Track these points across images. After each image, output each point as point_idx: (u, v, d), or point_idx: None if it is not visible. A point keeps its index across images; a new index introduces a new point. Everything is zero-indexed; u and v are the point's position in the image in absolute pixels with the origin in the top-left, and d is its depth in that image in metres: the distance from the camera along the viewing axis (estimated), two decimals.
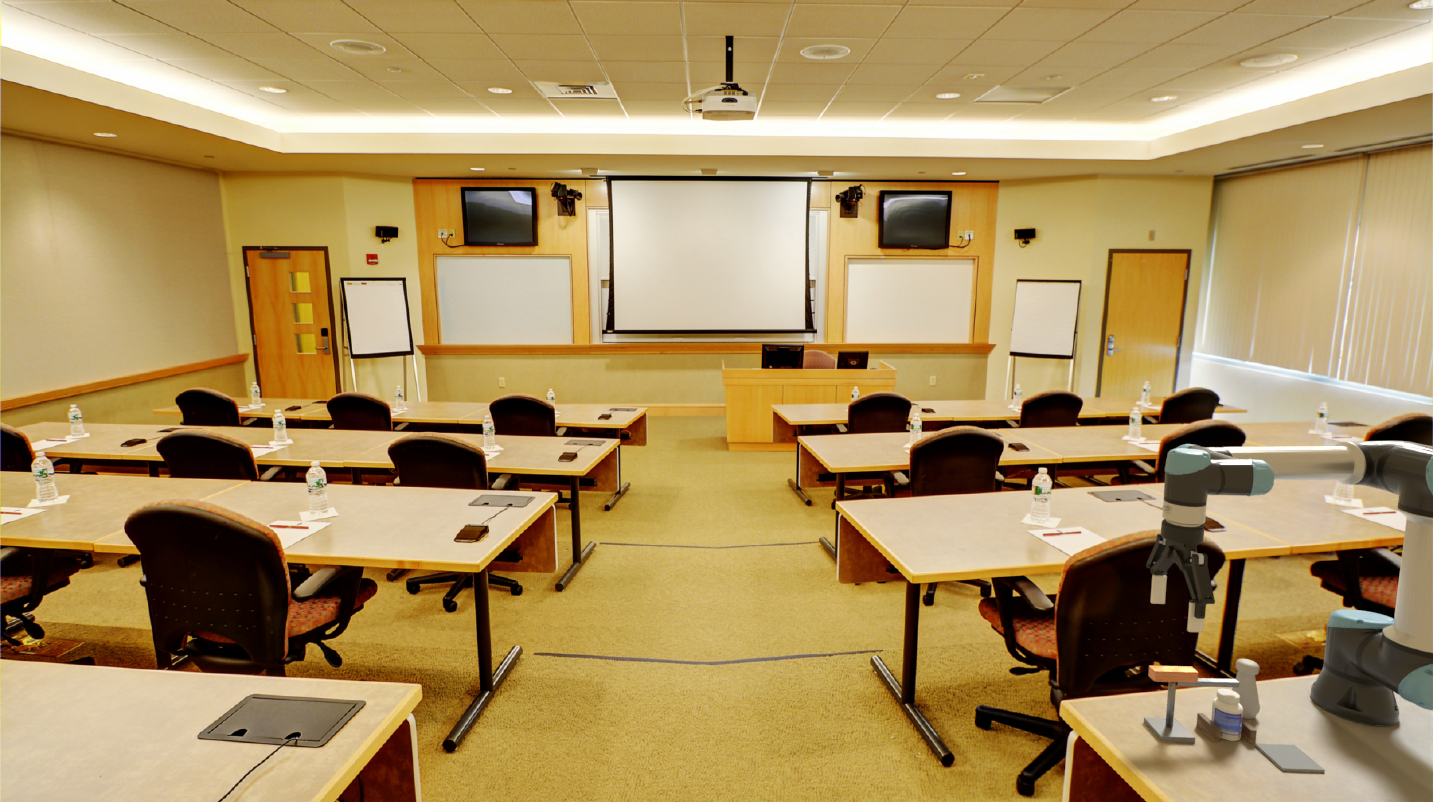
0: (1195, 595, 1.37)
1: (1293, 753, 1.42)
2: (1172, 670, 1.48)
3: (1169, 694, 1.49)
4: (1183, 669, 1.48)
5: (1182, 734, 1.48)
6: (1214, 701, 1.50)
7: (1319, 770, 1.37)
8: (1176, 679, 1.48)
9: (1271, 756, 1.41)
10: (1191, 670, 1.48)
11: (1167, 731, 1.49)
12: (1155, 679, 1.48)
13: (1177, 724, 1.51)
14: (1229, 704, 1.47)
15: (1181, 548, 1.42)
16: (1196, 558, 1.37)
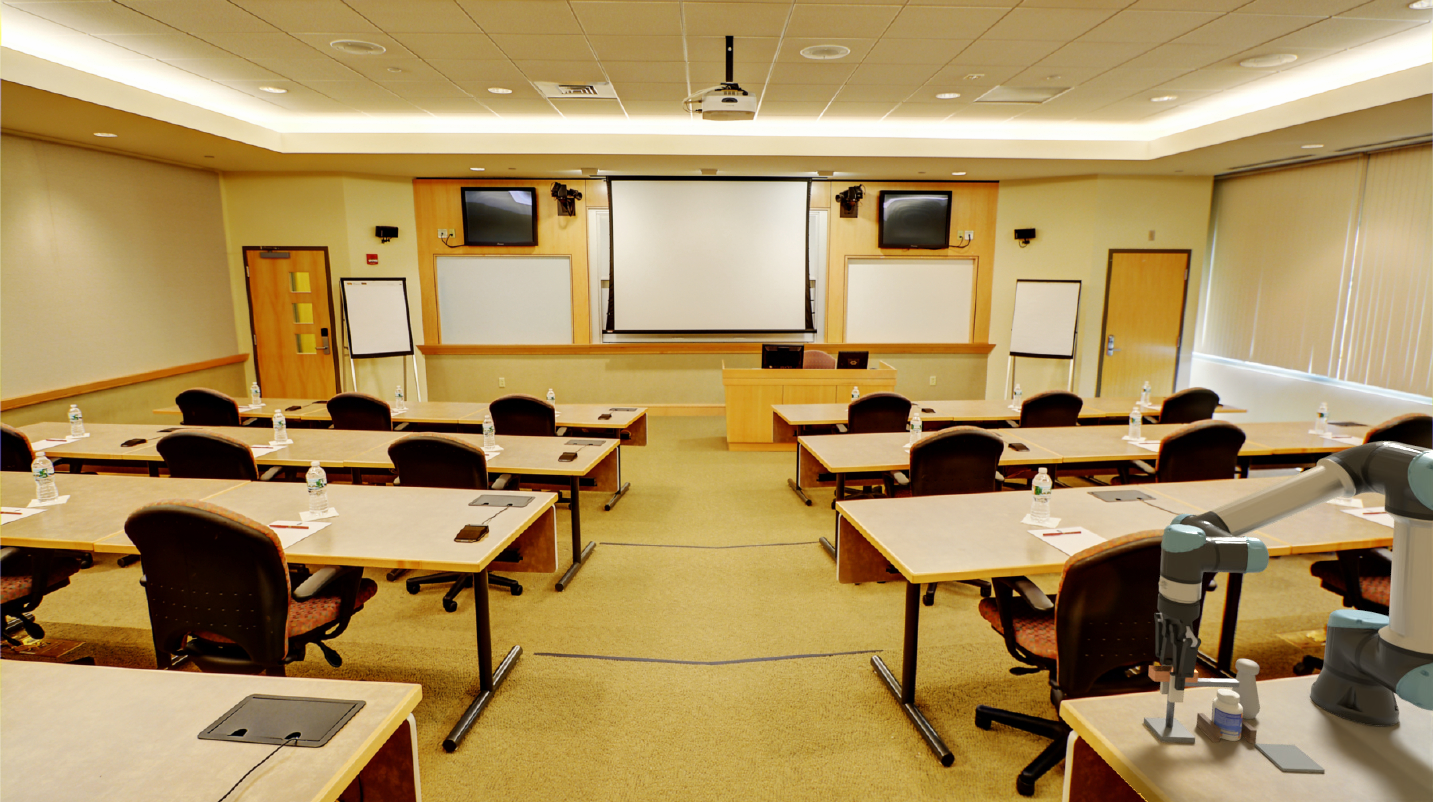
0: (1176, 670, 1.46)
1: (1293, 753, 1.42)
2: (1172, 670, 1.48)
3: None
4: None
5: (1182, 734, 1.48)
6: (1214, 701, 1.50)
7: (1319, 770, 1.37)
8: None
9: (1271, 756, 1.41)
10: None
11: (1167, 731, 1.49)
12: (1155, 679, 1.48)
13: (1177, 724, 1.51)
14: (1229, 704, 1.47)
15: (1179, 622, 1.45)
16: (1189, 643, 1.41)
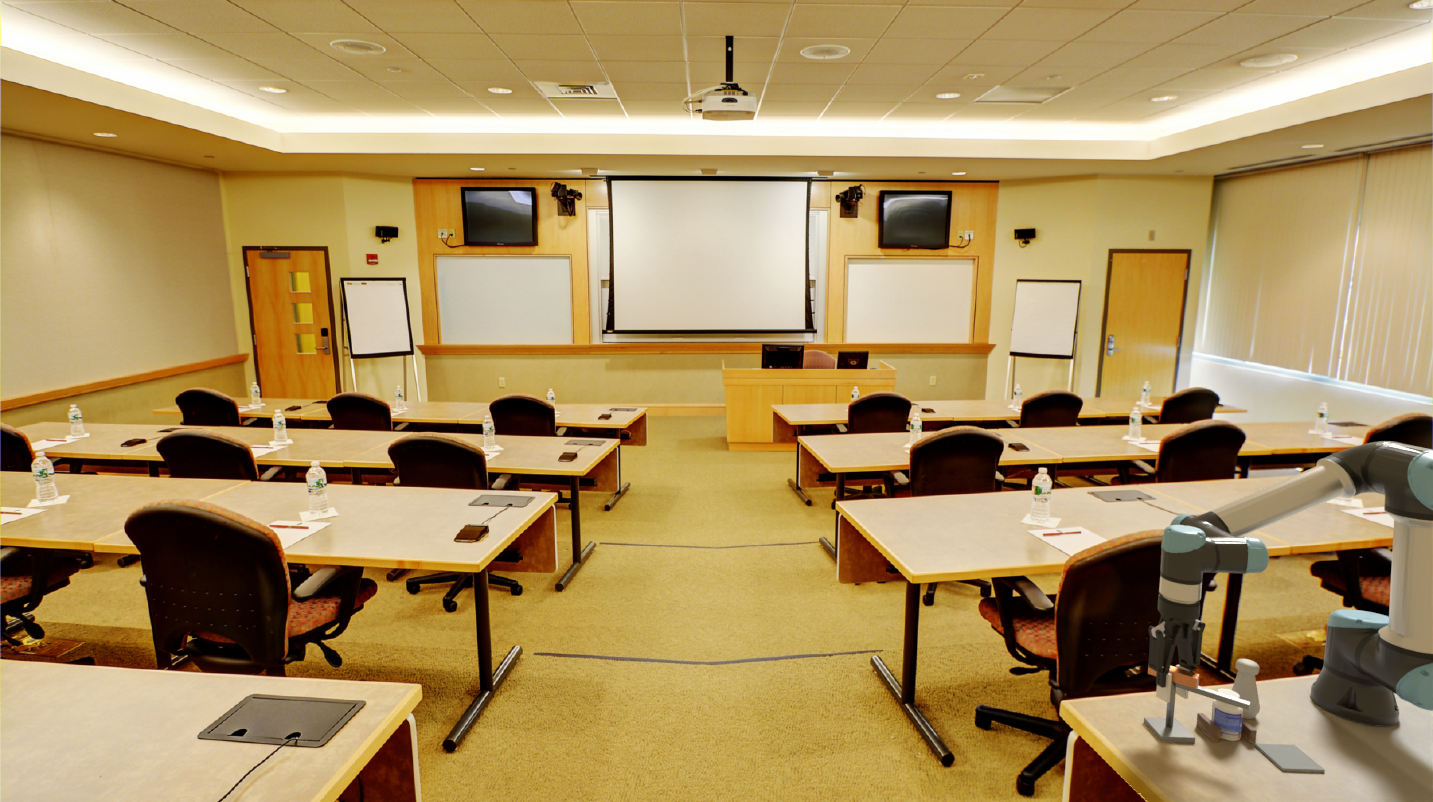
0: None
1: (1293, 753, 1.42)
2: None
3: None
4: (1183, 672, 1.47)
5: (1182, 734, 1.48)
6: (1214, 701, 1.50)
7: (1319, 770, 1.37)
8: None
9: (1271, 756, 1.41)
10: (1191, 675, 1.46)
11: (1167, 731, 1.49)
12: (1148, 671, 1.51)
13: (1177, 724, 1.51)
14: (1229, 704, 1.47)
15: None
16: (1149, 631, 1.47)
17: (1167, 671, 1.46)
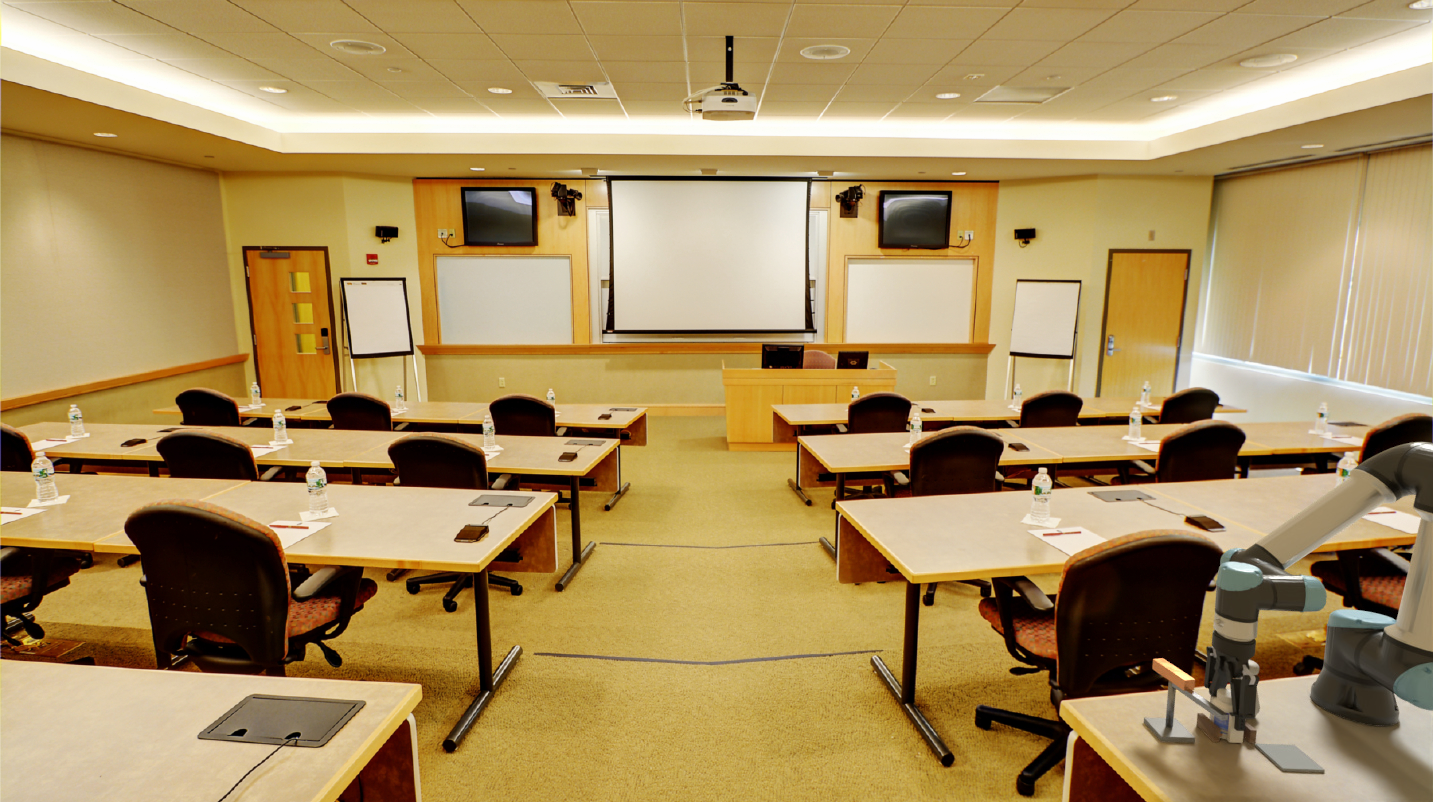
0: (1236, 710, 1.44)
1: (1293, 753, 1.42)
2: (1168, 667, 1.49)
3: None
4: (1178, 673, 1.47)
5: (1182, 734, 1.48)
6: (1214, 701, 1.50)
7: (1319, 770, 1.37)
8: (1168, 677, 1.49)
9: (1271, 756, 1.41)
10: (1183, 677, 1.45)
11: (1167, 731, 1.49)
12: (1153, 666, 1.53)
13: (1177, 724, 1.51)
14: (1229, 704, 1.47)
15: (1234, 660, 1.45)
16: (1248, 681, 1.41)
17: None
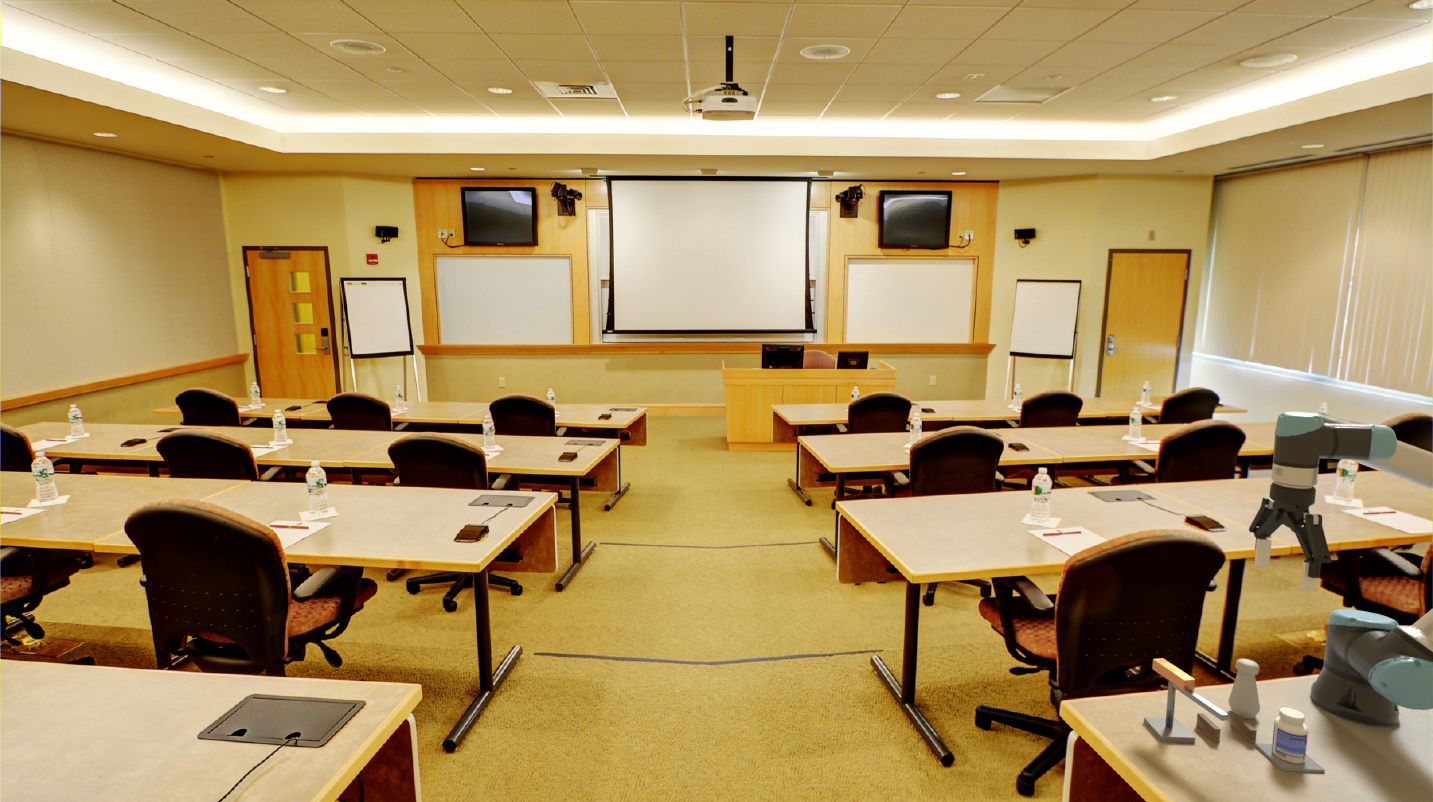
0: (1310, 555, 1.40)
1: None
2: (1168, 667, 1.49)
3: None
4: (1178, 673, 1.47)
5: (1182, 734, 1.48)
6: (1277, 721, 1.41)
7: (1319, 770, 1.37)
8: (1168, 677, 1.49)
9: (1271, 756, 1.41)
10: (1183, 677, 1.45)
11: (1167, 731, 1.49)
12: (1153, 666, 1.53)
13: (1177, 724, 1.51)
14: (1294, 724, 1.39)
15: (1292, 510, 1.44)
16: (1311, 518, 1.39)
17: None
